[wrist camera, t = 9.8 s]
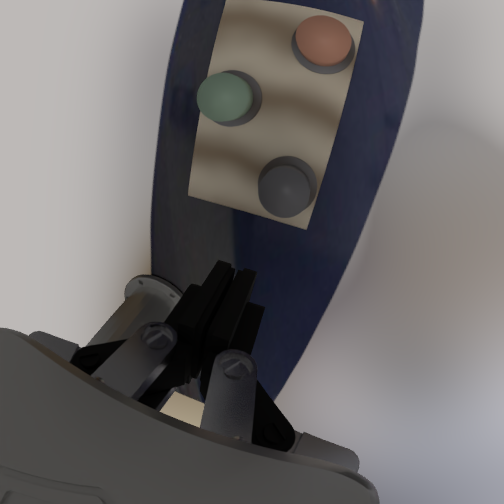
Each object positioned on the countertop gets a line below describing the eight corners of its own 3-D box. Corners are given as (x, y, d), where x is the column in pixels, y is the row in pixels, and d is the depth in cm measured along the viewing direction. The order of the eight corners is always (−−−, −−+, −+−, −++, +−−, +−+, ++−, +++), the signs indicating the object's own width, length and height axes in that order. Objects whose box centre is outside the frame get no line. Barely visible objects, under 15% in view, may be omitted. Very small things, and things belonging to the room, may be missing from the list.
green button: (247, 124, 23) (240, 126, 21) (203, 116, 23) (193, 117, 21) (257, 79, 21) (251, 76, 19) (211, 72, 21) (202, 70, 19)
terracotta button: (343, 72, 19) (345, 68, 17) (293, 59, 19) (290, 54, 17) (353, 31, 16) (355, 23, 14) (303, 18, 17) (301, 10, 15)
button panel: (307, 220, 30) (305, 232, 27) (197, 189, 31) (185, 197, 28) (360, 29, 18) (364, 19, 16) (234, 5, 20) (224, -5, 17)
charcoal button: (303, 215, 26) (301, 224, 24) (258, 202, 26) (253, 209, 24) (316, 172, 24) (315, 177, 22) (269, 158, 24) (264, 162, 22)
